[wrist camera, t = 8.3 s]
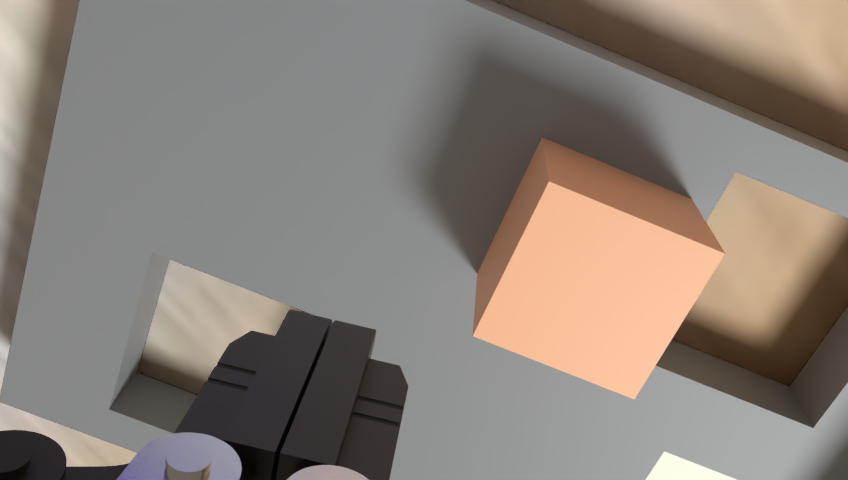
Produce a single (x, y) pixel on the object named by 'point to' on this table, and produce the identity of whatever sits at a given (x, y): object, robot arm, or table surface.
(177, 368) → the table surface
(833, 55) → the table surface
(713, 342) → the table surface
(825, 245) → the table surface
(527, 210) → the block
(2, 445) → the robot arm
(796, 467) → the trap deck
